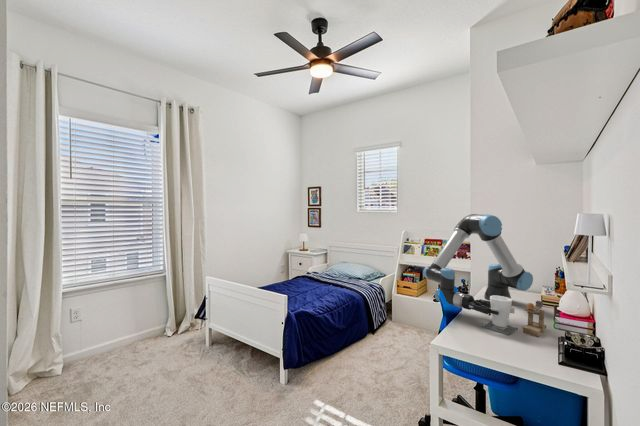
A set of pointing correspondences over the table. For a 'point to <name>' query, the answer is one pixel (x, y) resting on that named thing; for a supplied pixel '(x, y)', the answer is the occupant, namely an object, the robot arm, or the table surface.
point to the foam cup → (500, 304)
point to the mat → (500, 328)
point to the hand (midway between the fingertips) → (510, 312)
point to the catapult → (535, 327)
